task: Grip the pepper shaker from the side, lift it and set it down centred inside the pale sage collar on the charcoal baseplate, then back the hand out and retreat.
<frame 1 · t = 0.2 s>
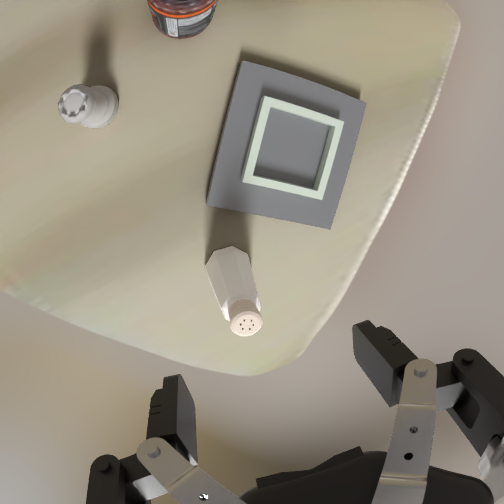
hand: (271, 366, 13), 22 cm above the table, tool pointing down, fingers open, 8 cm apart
supplement bottle: (182, 16, 24), on the table
baseplate: (287, 147, 32), on the table
rook chess piece: (99, 107, 26), on the table
pepper shaker: (228, 266, 36), on the table
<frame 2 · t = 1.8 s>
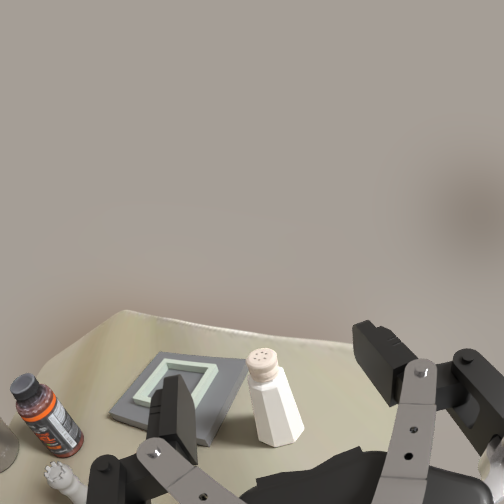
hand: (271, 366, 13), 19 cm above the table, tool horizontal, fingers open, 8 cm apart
supplement bottle: (69, 444, 30), on the table
baseplate: (181, 395, 38), on the table
pepper shaker: (280, 429, 30), on the table
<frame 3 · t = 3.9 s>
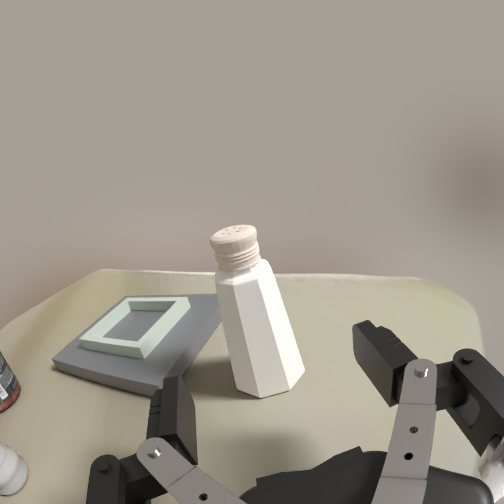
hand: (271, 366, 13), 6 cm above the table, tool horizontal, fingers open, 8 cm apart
supplement bottle: (4, 400, 22), on the table
baseplate: (141, 340, 30), on the table
rook chess piece: (13, 479, 13), on the table
pepper shaker: (269, 374, 22), on the table
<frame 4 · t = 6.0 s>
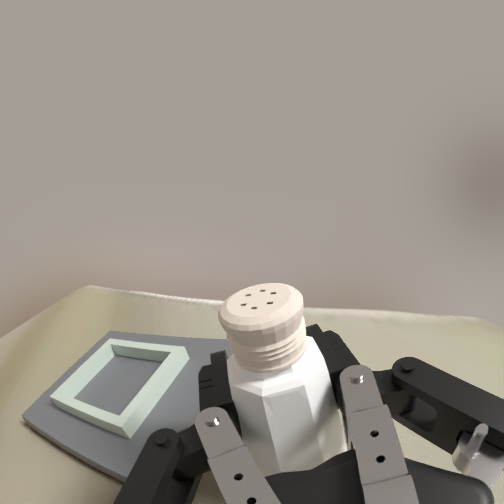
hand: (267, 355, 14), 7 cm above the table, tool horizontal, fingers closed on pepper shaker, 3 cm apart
baseplate: (128, 398, 22), on the table
pepper shaker: (300, 470, 14), on the table, touching gripper
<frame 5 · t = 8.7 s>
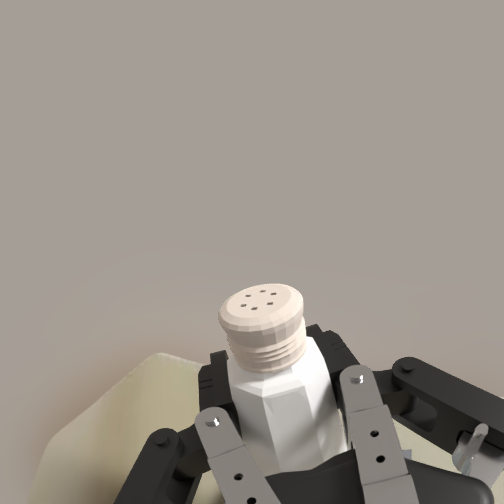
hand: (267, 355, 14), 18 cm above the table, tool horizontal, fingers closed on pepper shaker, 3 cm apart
pepper shaker: (301, 470, 14), point 11 cm above the table, touching gripper
when the fingers open (8 cm above the table, at t = 11.2 s): pepper shaker stays where it is, resting on baseplate.
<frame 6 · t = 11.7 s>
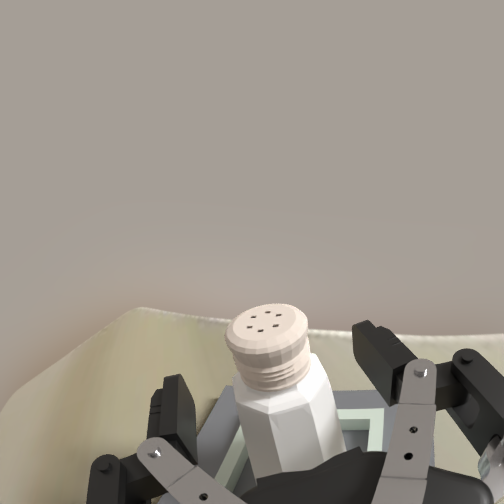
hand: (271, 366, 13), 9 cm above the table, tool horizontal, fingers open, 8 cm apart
baseplate: (304, 485, 14), on the table
pepper shaker: (303, 478, 14), point 1 cm above the table, touching baseplate
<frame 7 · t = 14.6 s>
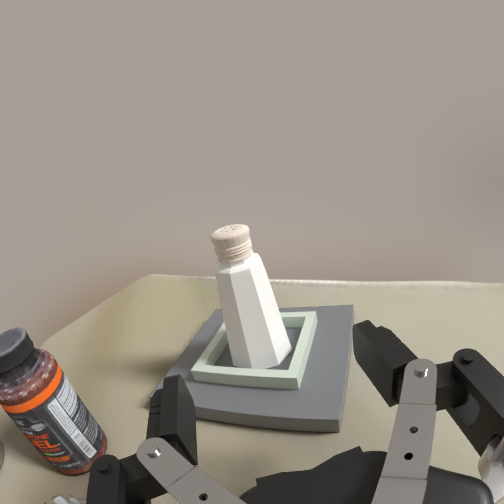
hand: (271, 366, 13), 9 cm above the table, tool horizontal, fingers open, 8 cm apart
supplement bottle: (81, 452, 19), on the table
baseplate: (263, 364, 27), on the table
pepper shaker: (261, 353, 26), point 1 cm above the table, touching baseplate
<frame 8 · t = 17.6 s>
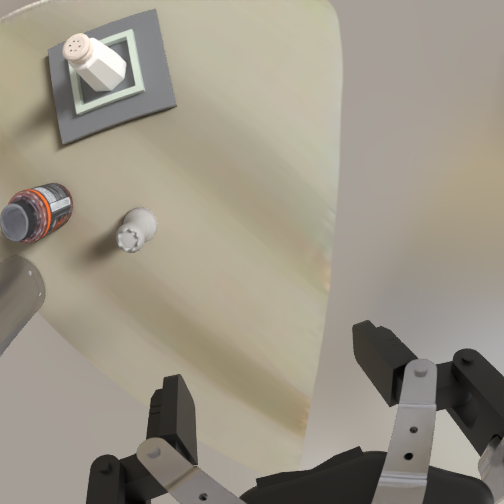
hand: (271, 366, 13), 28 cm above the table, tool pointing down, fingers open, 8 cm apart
supplement bottle: (56, 204, 35), on the table
baseplate: (109, 74, 31), on the table
rook chess piece: (141, 223, 38), on the table
pepper shaker: (107, 72, 30), point 1 cm above the table, touching baseplate
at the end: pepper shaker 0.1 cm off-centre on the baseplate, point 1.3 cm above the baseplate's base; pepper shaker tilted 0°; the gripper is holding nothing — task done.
